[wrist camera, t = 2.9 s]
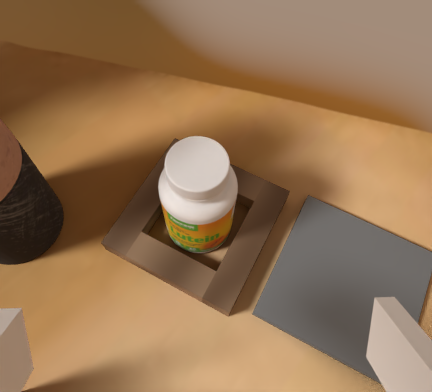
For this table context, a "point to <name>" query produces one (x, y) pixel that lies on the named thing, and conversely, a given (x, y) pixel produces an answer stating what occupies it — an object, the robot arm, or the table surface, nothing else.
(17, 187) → the travel mug
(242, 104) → the table surface
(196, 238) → the supplement bottle
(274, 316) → the slate pad
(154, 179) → the brown flat square frame
